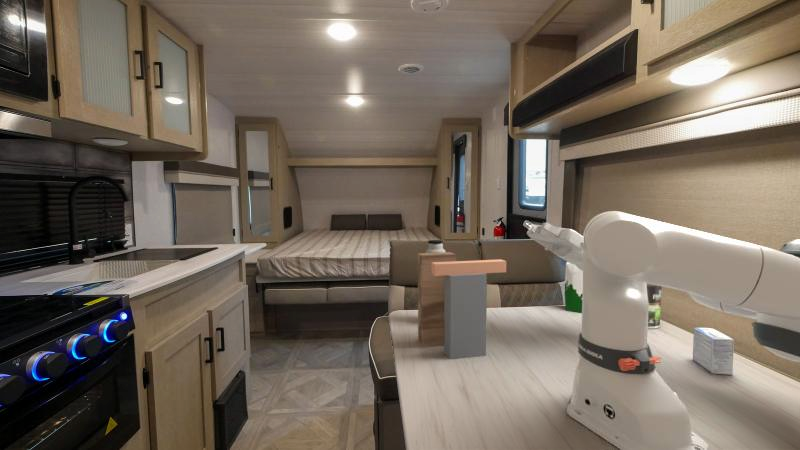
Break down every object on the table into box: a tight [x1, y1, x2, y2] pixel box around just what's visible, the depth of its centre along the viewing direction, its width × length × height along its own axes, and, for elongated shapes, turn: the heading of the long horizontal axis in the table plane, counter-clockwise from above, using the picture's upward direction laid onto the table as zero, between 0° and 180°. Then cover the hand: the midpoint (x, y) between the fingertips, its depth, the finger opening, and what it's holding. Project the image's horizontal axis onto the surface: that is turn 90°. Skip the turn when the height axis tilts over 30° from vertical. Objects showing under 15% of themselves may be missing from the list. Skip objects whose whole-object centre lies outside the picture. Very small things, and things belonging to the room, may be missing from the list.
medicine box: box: [692, 327, 735, 376], centre depth 89 cm, size 8×4×9 cm, turn 168°
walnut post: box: [417, 251, 458, 348], centre depth 105 cm, size 5×10×26 cm, turn 102°
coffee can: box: [646, 283, 663, 330], centre depth 120 cm, size 10×10×14 cm
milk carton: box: [564, 261, 583, 314], centre depth 135 cm, size 9×9×20 cm
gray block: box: [443, 273, 488, 360], centre depth 97 cm, size 5×10×22 cm, turn 102°
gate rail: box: [432, 259, 507, 276], centre depth 97 cm, size 3×20×3 cm, turn 102°
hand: (534, 223), depth 105 cm, fingers open, 8 cm apart
